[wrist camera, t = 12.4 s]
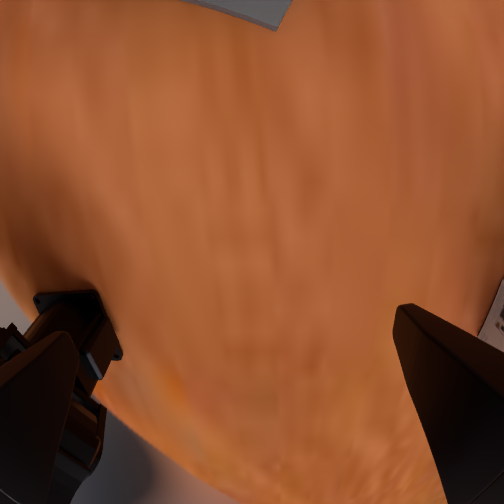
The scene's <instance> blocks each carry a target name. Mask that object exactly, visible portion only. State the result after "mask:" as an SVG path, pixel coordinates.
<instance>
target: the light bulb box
mask: <svg viewBox="0 0 504 504" xmlns="http://www.w3.org/2000/svg"><path fill="white" fill-rule="evenodd" d="M478 338H479V339H481V340H482V341H484V342H486V343H488V344H490V345H492V346H493V347H495V348H497V349H499V350H501V351H502V352H504V279H503V280H502V282H501V285H500V287H499V290H498V293H497V295H496V297H495V300H494V302H493V305H492V307H491V309H490V312H489V314H488V316H487V318H486V321H485V323H484V325H483V327H482V329H481V331H480V333H479V335H478Z"/></svg>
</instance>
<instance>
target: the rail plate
mask: <svg viewBox="0 0 504 504" xmlns="http://www.w3.org/2000/svg"><path fill="white" fill-rule="evenodd" d="M181 1H185V2H189V3H192V4H196V5H200V6H203V7H207V8H210V9H213V10H217V11H220V12H223V13H226V14H229V15H232V16H235V17H238V18H241V19H244V20H247V21H249V22H252V23H255V24H257V25H260V26H263V27H265V28H268V29H270V30H273V31H275V32H276V31H277V29H278V27H279V25H280V23H281V21H282V19H283V17H284V15H285V13H286V11H287V10H288V8H289V6H290V4H291V2H292V0H181Z"/></svg>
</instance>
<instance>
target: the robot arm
mask: <svg viewBox="0 0 504 504" xmlns="http://www.w3.org/2000/svg"><path fill="white" fill-rule="evenodd" d="M91 296H93V297H94V298H92V297H91ZM33 301H34V303H35V306H36V308H37V310H38V312H39V316H38V317H37V318H36V319H35V321H34V322H33V323H32V324H31V326H30V327H29V328H28V329H27V331H26V332H25V333H24V335H22V334H21V333H20V332H19V331H18V330H17V327H16V326H15V325H14V324H13V323H11V324H10V325H9V326H8V328H7V329H5V328H1V327H0V504H70V503H71V500H72V498H73V496H74V494H75V492H76V491H77V489H78V488H79V486H80V485H81V483H82V482H83V481H84V480H86V479H87V478H88V477H89V476H90V475H91V474H92V473H93V471H94V470H95V468H96V466H97V465H98V463H99V461H100V458H101V455H102V450H103V441H104V440H103V439H104V430H105V421H106V413H107V408H105V407H104V406H103V405H102V404H98V403H97V402H96V401H95V400H93V399H92V398H91V394H92V392H93V390H94V388H95V385H96V383H97V381H98V380H102V379H103V377H104V375H105V373H106V371H107V369H108V366H109V364H110V362H111V360H115V361H119V360H121V359H122V357H123V352H122V350H121V347H120V345H119V341H118V339H117V336H116V334H115V331H114V329H113V327H112V324H111V322H110V319H109V318H108V316H107V314H106V311H105V309H104V306H103V303H102V301H101V298H100V295H99V294H98V292H97V291H95V290H79V291H64V292H48V293H37V294H36V295H35V296H34V297H33ZM393 340H394V343H395V346H396V350H397V353H398V356H399V360H400V363H401V367H402V370H403V374H404V378H405V381H406V384H407V387H408V390H409V393H410V395H411V398H412V400H413V403H414V406H415V408H416V411H417V413H418V416H419V419H420V421H421V424H422V427H423V429H424V432H425V435H426V438H427V441H428V443H429V446H430V449H431V452H432V455H433V458H434V461H435V464H436V467H437V470H438V473H439V476H440V479H441V483H442V486H443V489H444V492H445V496H446V499H447V502H448V504H504V352H502V351H501V350H499V349H497V348H495V347H493V346H492V345H490V344H488V343H486V342H484V341H482V340H481V339H479V338H477V337H475V336H473V335H471V334H470V333H468V332H466V331H464V330H462V329H460V328H459V327H457V326H455V325H453V324H451V323H449V322H447V321H445V320H444V319H442V318H440V317H438V316H436V315H434V314H432V313H430V312H428V311H427V310H425V309H423V308H421V307H419V306H417V305H415V304H413V303H409V304H403V305H399V306H398V307H397V309H396V314H395V320H394V326H393Z"/></svg>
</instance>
